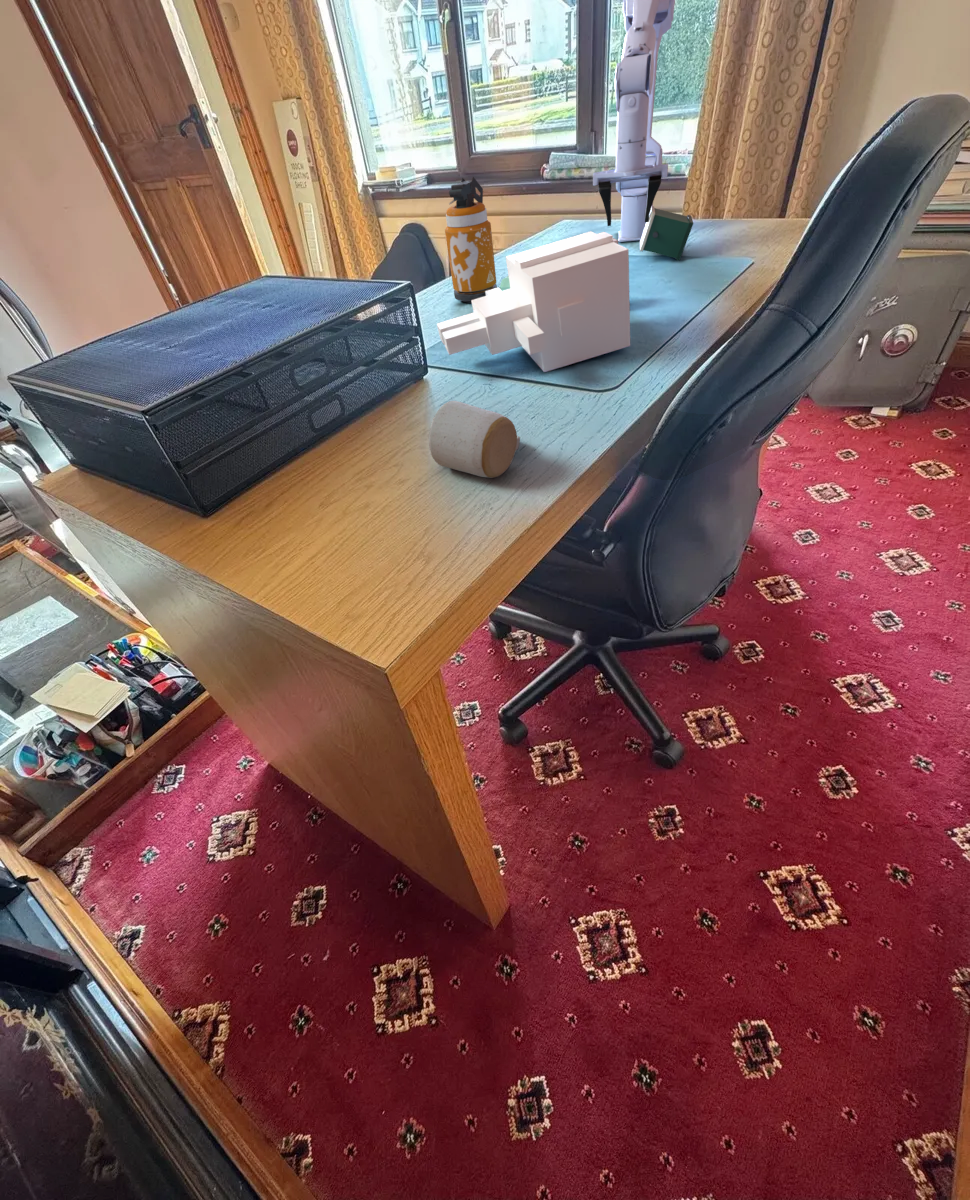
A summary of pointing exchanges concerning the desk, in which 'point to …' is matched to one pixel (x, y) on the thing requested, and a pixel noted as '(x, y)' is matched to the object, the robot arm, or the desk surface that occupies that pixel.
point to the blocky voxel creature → (553, 304)
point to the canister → (469, 243)
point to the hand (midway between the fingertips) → (627, 223)
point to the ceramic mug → (472, 439)
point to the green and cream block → (666, 233)
